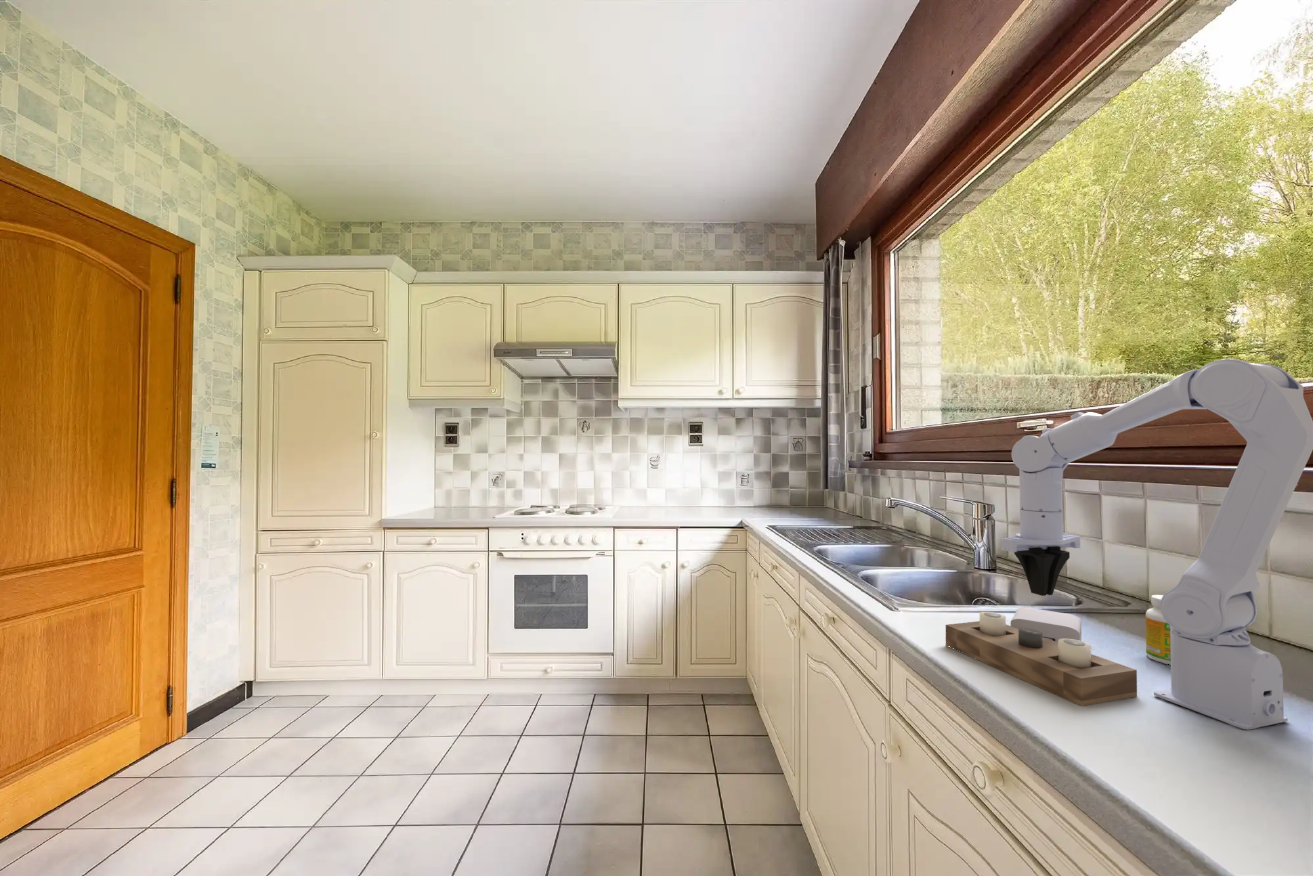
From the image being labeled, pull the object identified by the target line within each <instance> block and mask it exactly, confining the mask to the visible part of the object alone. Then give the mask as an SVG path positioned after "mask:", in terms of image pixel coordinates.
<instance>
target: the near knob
mask: <svg viewBox="0 0 1313 876" xmlns="http://www.w3.org/2000/svg"><path fill="white" fill-rule="evenodd" d="M1091 654H1092V646H1091V644H1090V643H1088V642H1085V641H1082V640H1081V641H1079V640H1074V639H1065V638H1064V639H1059V640H1058V661H1059V662H1062V663H1064V664H1067V665H1070V666H1072V667H1075V668H1077V669H1083V668H1090V667H1091Z"/></svg>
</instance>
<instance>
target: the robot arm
mask: <svg viewBox="0 0 1313 876" xmlns="http://www.w3.org/2000/svg"><path fill="white" fill-rule="evenodd" d="M1181 410H1208V411H1210V412H1212V413H1214V414H1216V415H1218V416H1220V417H1221V418H1224V419H1225V420H1226V421H1228V422H1229V423H1230V425H1232V427H1233V428H1234V429H1235V430H1236V431H1237V432H1238V434H1240V435H1241V437H1243V439H1245V441H1246V446H1245V448H1244V451H1243V453H1242V455H1241V457H1240V459H1239V462H1238V465H1237V467H1236V469H1235V471H1234V474H1233V476H1232V478H1231V481H1230V483H1229V486H1228V488H1227V490H1226V493H1225V494H1224V497H1223V500H1222V501H1221V504H1220V507H1219V509H1218V511H1217V513H1216V516H1215V518H1214V520H1213V523H1212V525H1211V527H1210V530H1209V532H1208V534H1207V537H1206V539H1205V542H1204V544H1203V546H1202V548H1201V549H1200V550H1201V551H1200V553H1199V555H1198V557H1197V559H1195V561H1194V562H1193V563H1192V564H1191V565H1190V566H1189V567H1188V568H1187V569H1186V570H1184V572H1183V573H1182V575H1181V578H1180V579H1179V582H1178V583H1177V584H1176V585H1175V586H1174V587H1173V588H1171V589H1169V590H1168V591H1166V592H1165V593H1164V594H1162V595H1163V597H1162V599H1161V602H1160V609H1161V613H1162V615H1163V617H1164V619H1165V620H1166V622H1167V623H1168V624H1169V625H1170V629H1171V630H1170V640H1171V665H1170V681H1171V682H1170V686H1171V687H1170V688H1167V689H1161V690H1155V691H1153V695H1154V696H1155V697H1157V698H1160V699H1162V700H1165V701H1168V702H1170V703H1173V704H1176V705H1179V706H1181V707H1184V708H1187V709H1188V710H1192V711H1195V712H1197V713H1200V714H1202V715H1205V716H1207V717H1210V718H1213V719H1215V720H1219V721H1221V722H1224V723H1226V724H1229V725H1232V726H1235V727H1237V728H1240V729H1243V730H1252V729H1257V728H1262V727H1266V726H1271V725H1275V724H1281V723H1285V722H1288V721H1289V719H1288V717H1287V716H1286V715H1284V714H1285V713H1284V712H1285V711H1284V675H1283V674H1284V671H1283V667H1282V664H1281V661H1280V659H1279V658H1278V657H1277V656H1276V655H1275V654H1273V653H1271V652H1269V651H1265V650H1263V649H1259V648H1257V647H1256V646H1254V645H1253V644H1251V638H1250V636H1249V633H1248V631H1247V629H1246V628H1247V627H1250V626H1251V625H1252V624H1253V623H1254V622H1255V621H1256V619H1257V617H1258V614H1259V613H1258V612H1259V611H1258V605H1257V601H1256V595H1257V592H1258V591H1257V590H1258V589H1259V587H1260V583H1259V580H1258V577H1257V571H1258V569H1259V567H1260V565H1261V562H1262V560H1263V558H1264V557H1265V554H1266V551H1267V549H1268V548H1269V545H1270V542H1271V541H1272V539H1273V536H1274V535H1275V532H1276V530H1277V528H1278V526H1279V524H1280V521H1281V519H1282V518H1283V515H1284V513H1285V510H1286V509H1287V507H1288V504H1289V502H1290V500H1291V498H1292V495H1293V494H1294V491H1295V489H1296V487H1297V484H1298V483H1299V481H1300V479H1301V476H1302V474H1303V472H1304V470H1305V468H1306V465H1307V463H1308V461H1309V459H1310V456H1311V454H1312V453H1313V418H1312V416H1311V413H1310V411H1309V408H1308V406H1307V403H1306V400H1305V398H1304V386H1303V385H1302V384H1301V383H1300V382H1299V381H1297V380H1296V379H1295V378H1294V377H1293V376H1291V375H1290V374H1289V373H1288V372H1287V371H1285V370H1284V368H1281V367H1279V366H1276V365H1273V364H1268V363H1253V362H1249V361H1245V360H1242V359H1237V358H1222V359H1217V360H1214V361H1211V362H1208V363H1207V364H1205V365H1204V366H1202V367H1201V368H1200V369H1197V368H1196V369H1195V368H1194V369H1192V370H1189V371H1186V372H1185V371H1184V372H1183V373H1181V374H1179V375H1178V376H1176V377H1174V378H1173V379H1171V380H1169V381H1167V382H1165V383H1163V384H1161V385H1159V386H1157V387H1155V388H1153V389H1151V390H1149V391H1148V392H1146V393H1143V394H1141V395H1139V396H1137V397H1135V398H1133V399H1131V400H1129V401H1128V402H1125V403H1124V404H1121V405H1119V406H1117V407H1116V408H1114V409H1111V410H1110V411H1108V412H1105V413H1103V414H1100V413H1098V412H1097V413H1096V412H1091V411H1089V412H1088V411H1087V412H1086V413H1084V412H1076V413H1074V414H1072V415H1070V419H1071V420H1069V421H1066V422H1063V423H1061V424H1060V425H1058V426H1055V427H1054V428H1048V427H1047V428H1045V429H1043V430H1042V431H1041V433H1042V434H1041V435H1040V436H1036V435H1024V436H1023V437H1022V438H1020V439H1019V440H1017V441H1016V442H1015V443H1014V445H1013V446H1012V450H1011V459H1012V461H1013V464H1014V465H1015V466H1016V467H1017V468H1018V469H1019V533H1015V534H1014V536H1009V537H1001V542H1000V544H1001V545H1000V546H1001V547H1000V550H1001V551H1004V552H1010V553H1013V554H1014V556H1016V558H1017V559H1018V561H1019V563H1020V564H1021V567H1022V569H1023V570H1024V574H1025V576H1026V579H1027V583H1028V586H1029V590H1030V593H1031V594H1034V595H1036V596H1037V595H1038V596H1041V597H1045V596H1047V595H1048V596H1053V595H1054V591H1055V588H1056V586H1057V585H1056V584H1057V581H1058V578H1059V575H1060V573H1061V571H1062V570H1063V567H1064V566H1065V564H1066V563H1067V561H1069V559H1070V555H1071V553H1070V551H1067V550H1061V549H1066V548H1067V549H1068V548H1069V549H1070V548H1072V549H1081V536H1079V535H1075V534H1074V535H1073V534H1064V527H1063V526H1064V524H1063V523H1064V522H1063V517H1064V516H1063V515H1064V514H1063V513H1064V512H1063V507H1064V506H1063V504H1064V503H1063V479H1064V470H1065V469H1066V468H1067V467H1068V466H1069V464H1070V463H1071V462H1075V461H1076V460H1080V459H1081V458H1084V457H1087V456H1090V455H1091V454H1094V453H1096V452H1099V451H1101V450H1104V449H1106V448H1109V447H1111V446H1113V445H1114V444H1115V442H1116V439H1117V436H1118V435H1119V434H1120V433H1123V432H1125V431H1128V430H1131V429H1133V428H1136V427H1138V426H1141V425H1144V424H1146V423H1149V422H1152V421H1154V420H1158V419H1160V418H1163V417H1165V416H1168V415H1170V414H1171V415H1172V414H1173V413H1175V412H1179V411H1181Z"/></svg>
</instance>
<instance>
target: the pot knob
mask: <svg viewBox="0 0 1313 876" xmlns="http://www.w3.org/2000/svg"><path fill="white" fill-rule="evenodd" d="M1018 643H1019V644H1020V645H1022V646H1025V647H1029V648H1042V647H1043V635H1042V632H1040V631H1038V630H1034V629H1028V628H1020V629H1018Z"/></svg>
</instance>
